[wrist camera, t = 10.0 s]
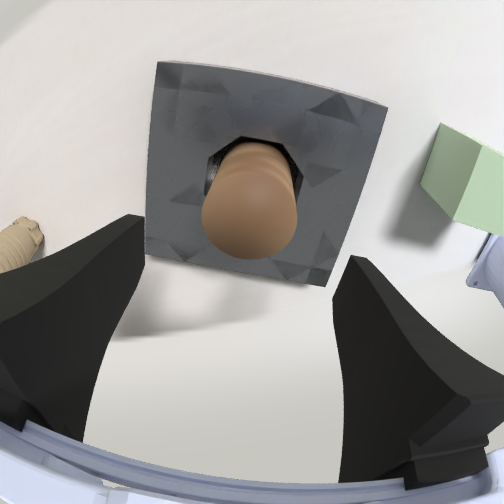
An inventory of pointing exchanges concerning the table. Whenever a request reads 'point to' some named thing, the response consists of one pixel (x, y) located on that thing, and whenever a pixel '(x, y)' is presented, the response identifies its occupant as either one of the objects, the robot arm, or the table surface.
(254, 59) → the table surface
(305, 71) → the table surface
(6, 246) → the handle
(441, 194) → the square bit
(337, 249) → the socket block
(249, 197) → the walnut peg
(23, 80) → the table surface
